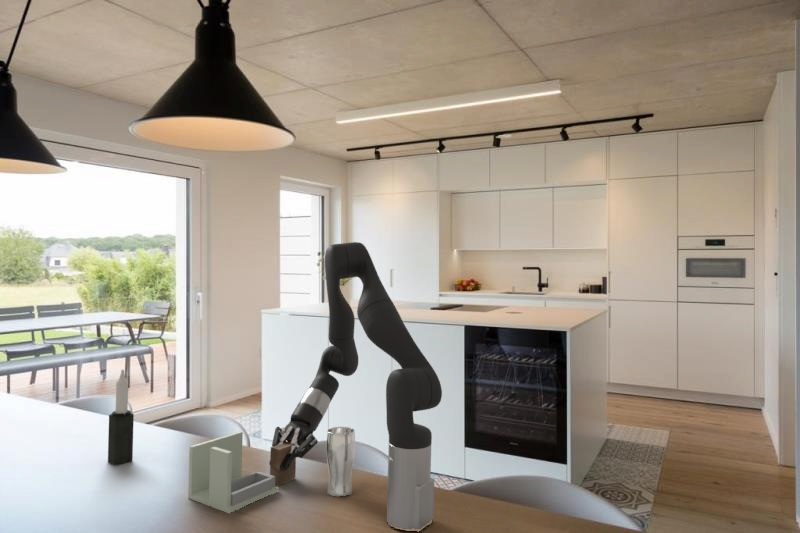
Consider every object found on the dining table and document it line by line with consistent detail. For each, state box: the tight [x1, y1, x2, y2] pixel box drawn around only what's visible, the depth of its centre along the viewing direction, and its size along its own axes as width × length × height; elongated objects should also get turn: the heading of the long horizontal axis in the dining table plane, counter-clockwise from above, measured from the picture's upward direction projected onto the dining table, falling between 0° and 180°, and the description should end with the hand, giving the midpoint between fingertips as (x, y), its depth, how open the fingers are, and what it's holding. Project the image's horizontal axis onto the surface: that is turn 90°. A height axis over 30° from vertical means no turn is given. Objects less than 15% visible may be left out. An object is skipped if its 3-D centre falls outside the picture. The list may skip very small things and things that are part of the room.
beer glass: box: [325, 426, 356, 496], centre depth 138 cm, size 7×7×15 cm
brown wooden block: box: [269, 441, 297, 486], centre depth 144 cm, size 3×6×9 cm, turn 147°
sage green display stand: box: [187, 431, 280, 514], centre depth 135 cm, size 14×15×13 cm
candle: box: [107, 369, 135, 466], centre depth 155 cm, size 5×5×25 cm
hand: (277, 467), depth 142 cm, fingers closed on brown wooden block, 3 cm apart
